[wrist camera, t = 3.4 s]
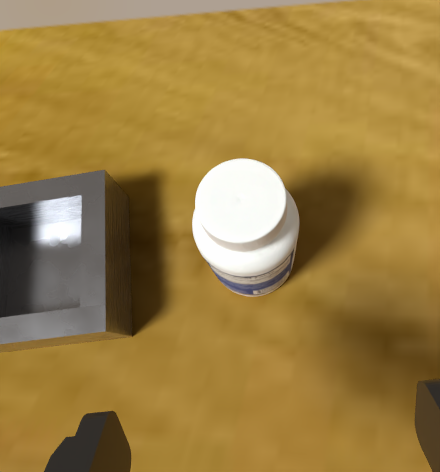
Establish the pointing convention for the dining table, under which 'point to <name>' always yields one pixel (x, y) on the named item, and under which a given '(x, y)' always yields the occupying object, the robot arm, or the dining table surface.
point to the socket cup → (64, 262)
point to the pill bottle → (246, 226)
